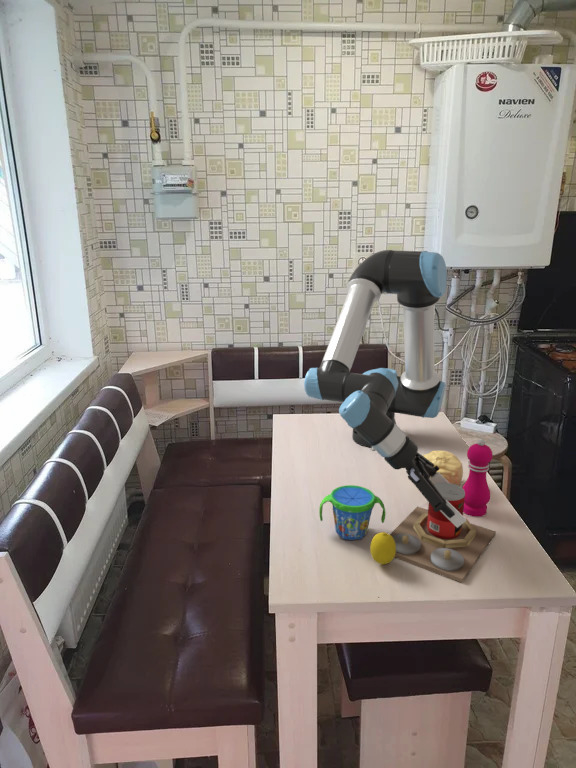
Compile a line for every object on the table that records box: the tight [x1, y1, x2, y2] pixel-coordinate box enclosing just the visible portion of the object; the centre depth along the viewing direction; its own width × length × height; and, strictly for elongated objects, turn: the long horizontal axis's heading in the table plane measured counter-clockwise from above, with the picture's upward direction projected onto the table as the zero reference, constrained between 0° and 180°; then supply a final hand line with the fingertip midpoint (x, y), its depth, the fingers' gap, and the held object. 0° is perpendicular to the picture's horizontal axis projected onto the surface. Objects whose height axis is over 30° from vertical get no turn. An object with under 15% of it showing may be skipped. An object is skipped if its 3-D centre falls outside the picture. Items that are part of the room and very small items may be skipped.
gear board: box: [389, 506, 497, 584], centre depth 138 cm, size 22×20×4 cm
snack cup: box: [318, 484, 386, 541], centre depth 141 cm, size 16×10×10 cm
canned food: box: [427, 483, 465, 539], centre depth 139 cm, size 8×8×11 cm
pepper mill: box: [462, 438, 494, 518], centre depth 148 cm, size 7×7×20 cm
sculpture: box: [422, 450, 464, 486], centre depth 162 cm, size 12×12×11 cm
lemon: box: [369, 531, 396, 566], centre depth 129 cm, size 6×6×8 cm
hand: (456, 507), depth 139 cm, fingers open, 13 cm apart
